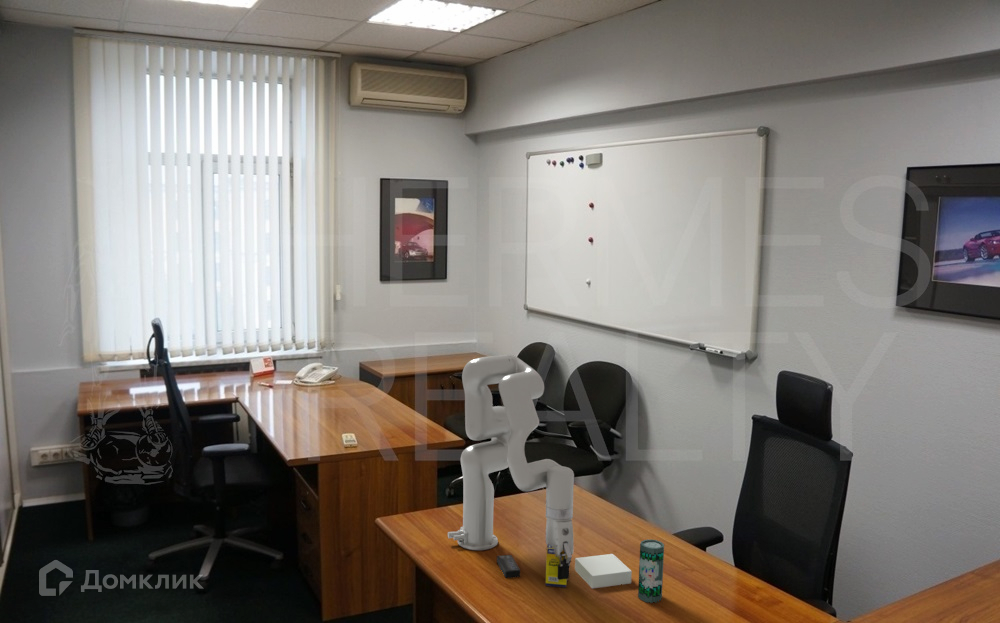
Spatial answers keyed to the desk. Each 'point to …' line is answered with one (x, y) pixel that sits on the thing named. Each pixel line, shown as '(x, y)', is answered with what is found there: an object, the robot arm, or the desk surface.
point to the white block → (602, 570)
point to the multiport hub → (508, 566)
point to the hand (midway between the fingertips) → (557, 571)
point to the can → (651, 570)
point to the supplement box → (553, 568)
